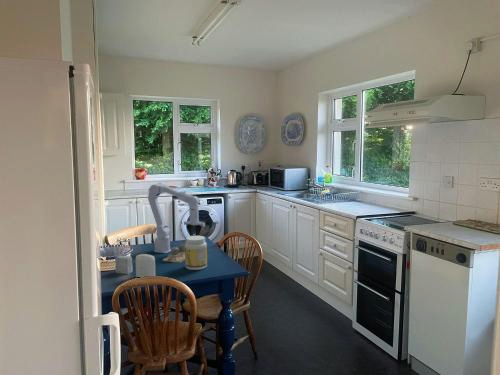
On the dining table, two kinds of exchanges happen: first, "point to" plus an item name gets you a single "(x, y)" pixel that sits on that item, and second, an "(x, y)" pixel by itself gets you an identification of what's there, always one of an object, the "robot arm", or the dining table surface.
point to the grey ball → (181, 247)
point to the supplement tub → (195, 253)
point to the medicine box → (123, 264)
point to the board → (176, 257)
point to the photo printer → (145, 265)
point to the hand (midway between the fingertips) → (194, 236)
